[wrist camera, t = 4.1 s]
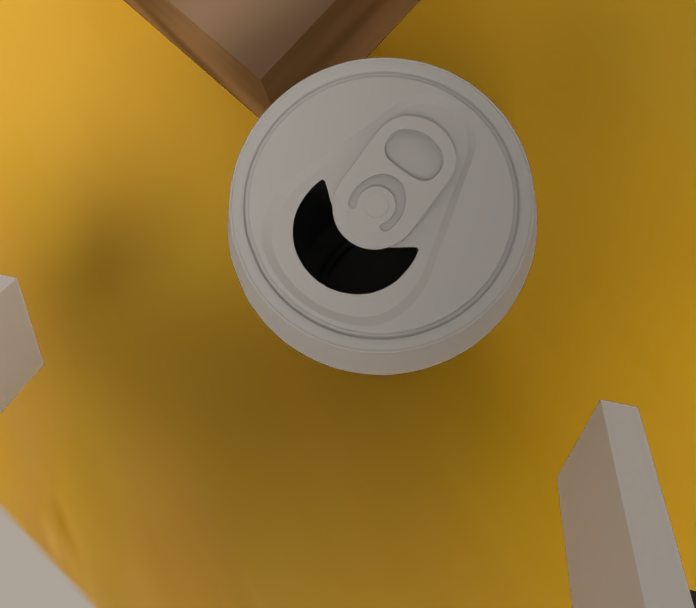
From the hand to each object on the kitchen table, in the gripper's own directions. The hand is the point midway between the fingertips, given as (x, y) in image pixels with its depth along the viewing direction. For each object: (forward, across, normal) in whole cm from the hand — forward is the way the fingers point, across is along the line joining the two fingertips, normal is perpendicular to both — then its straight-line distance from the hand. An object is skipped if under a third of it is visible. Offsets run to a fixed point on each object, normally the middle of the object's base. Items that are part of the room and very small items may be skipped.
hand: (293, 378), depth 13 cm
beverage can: (+9, +1, -4) cm, 10 cm away
